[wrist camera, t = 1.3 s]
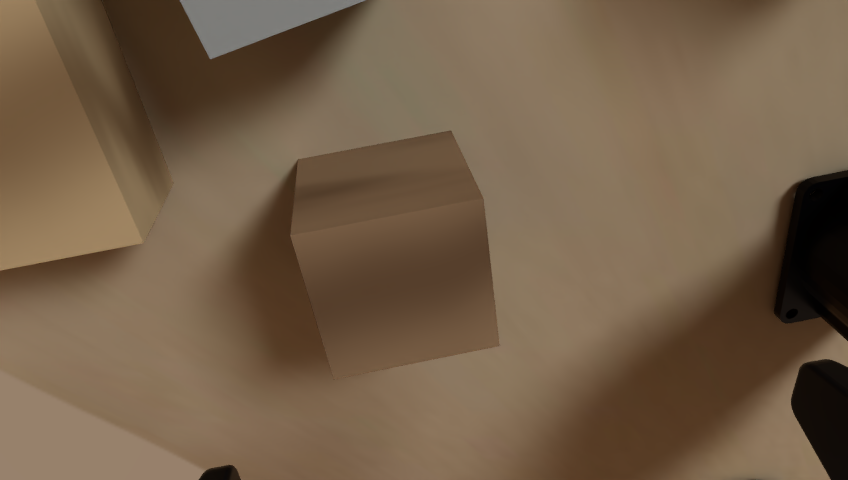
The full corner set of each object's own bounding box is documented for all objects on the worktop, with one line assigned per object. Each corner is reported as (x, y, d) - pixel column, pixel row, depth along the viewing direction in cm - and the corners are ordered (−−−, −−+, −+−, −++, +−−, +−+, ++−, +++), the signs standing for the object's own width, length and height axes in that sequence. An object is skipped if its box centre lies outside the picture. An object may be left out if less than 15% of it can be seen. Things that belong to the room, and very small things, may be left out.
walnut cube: (467, 257, 23) (499, 345, 19) (332, 284, 23) (333, 379, 18) (450, 129, 20) (483, 198, 16) (298, 158, 20) (290, 235, 16)
